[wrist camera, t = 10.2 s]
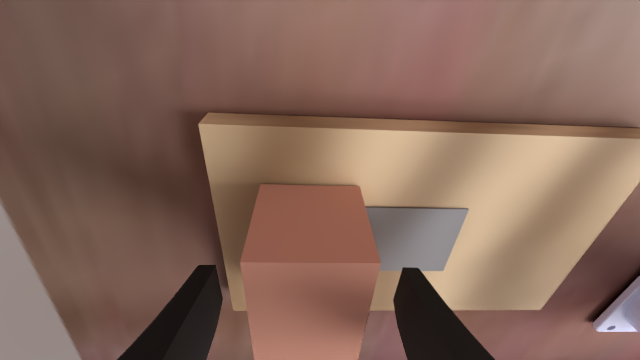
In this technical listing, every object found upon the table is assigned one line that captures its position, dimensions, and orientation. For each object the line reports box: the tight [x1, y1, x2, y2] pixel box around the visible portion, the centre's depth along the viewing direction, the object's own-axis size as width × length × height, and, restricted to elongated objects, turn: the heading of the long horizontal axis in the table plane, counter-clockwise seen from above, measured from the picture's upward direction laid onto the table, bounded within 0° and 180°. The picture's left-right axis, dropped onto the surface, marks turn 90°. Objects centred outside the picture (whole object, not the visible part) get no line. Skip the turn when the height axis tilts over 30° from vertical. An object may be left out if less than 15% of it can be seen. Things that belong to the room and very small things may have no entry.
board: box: [198, 113, 640, 311], centre depth 14 cm, size 18×11×1 cm, turn 87°
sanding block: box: [240, 184, 381, 360], centre depth 11 cm, size 4×6×4 cm, turn 177°
